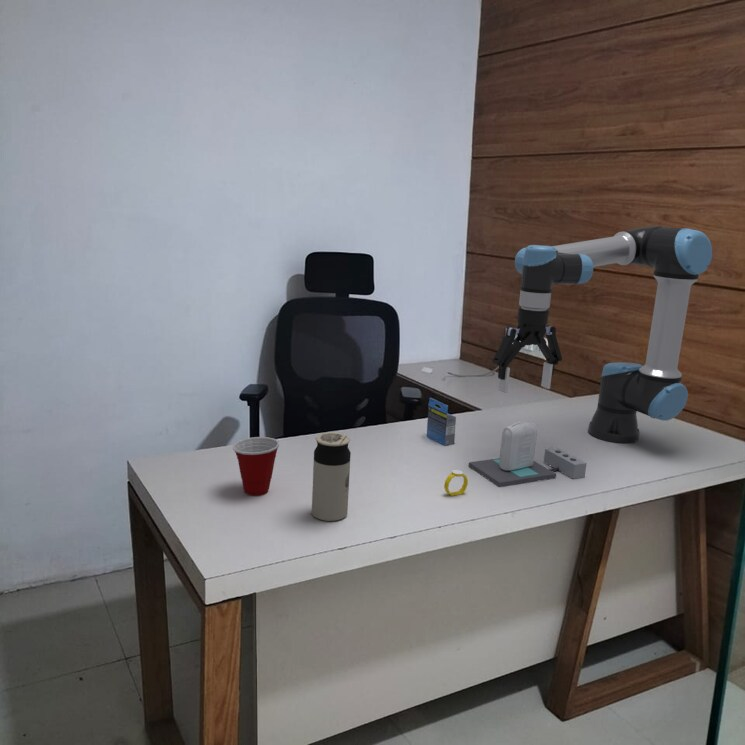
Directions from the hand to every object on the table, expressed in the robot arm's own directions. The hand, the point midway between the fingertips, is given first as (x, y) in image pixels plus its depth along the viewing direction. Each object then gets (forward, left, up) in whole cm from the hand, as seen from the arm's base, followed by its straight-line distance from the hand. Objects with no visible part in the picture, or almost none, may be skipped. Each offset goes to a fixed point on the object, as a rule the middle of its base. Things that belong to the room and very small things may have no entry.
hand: (524, 389), depth 183 cm
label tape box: (+7, -27, -23) cm, 36 cm away
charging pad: (+1, 0, -23) cm, 23 cm away
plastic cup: (+68, -10, -23) cm, 73 cm away
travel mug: (+56, +7, -23) cm, 61 cm away
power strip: (-11, +3, -23) cm, 26 cm away
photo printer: (0, 0, -22) cm, 22 cm away
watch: (+23, +7, -23) cm, 33 cm away
